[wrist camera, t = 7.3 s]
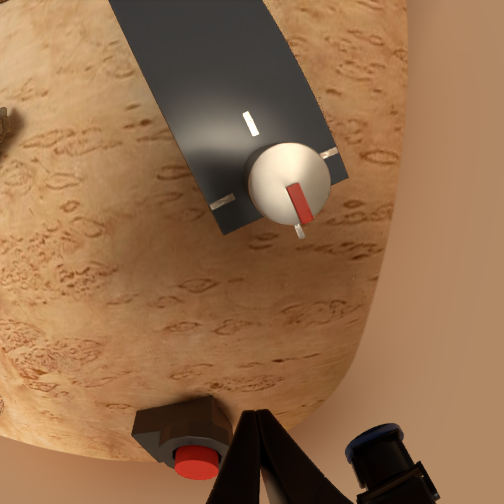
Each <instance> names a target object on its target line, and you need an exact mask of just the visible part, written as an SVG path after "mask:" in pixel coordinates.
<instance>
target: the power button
mask: <svg viewBox="0 0 504 504" xmlns="http://www.w3.org/2000/svg"><path fill="white" fill-rule="evenodd" d="M174 468H175V471H176V472H177V473H178V474H179V475H181V476H183V477H185V478H188V479H194V480H206V479H211V478H213V477H215V476H216V475H217V474H218V472H219V463H218V453H217V452H216V451H215V450H214V449H211V448H209V447H207V446H201V445H192V444H191V445H186V446H181V447H179V448H178V449H177V450H176V455H175V467H174Z"/></svg>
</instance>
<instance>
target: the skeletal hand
mask: <svg viewBox="0 0 504 504" xmlns="http://www.w3.org/2000/svg"><path fill="white" fill-rule="evenodd" d="M11 128H12V127H11V124H10V122H9V119H8V117H7V108H5V107H2V108H0V147H1V144H2V141H3V138H4V136H5V133H4V132H9V131H10V130H11Z"/></svg>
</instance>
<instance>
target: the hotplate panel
mask: <svg viewBox="0 0 504 504" xmlns="http://www.w3.org/2000/svg"><path fill="white" fill-rule="evenodd" d="M108 1H109V3H110V5H111V7H112V9H113V11H114V14H115V16H116V18H117V20H118V22H119V24H120V27H121V29H122V31H123V33H124V35H125V37H126V39H127V41H128V44H129V46H130V48H131V50H132V52H133V54H134V56H135V58H136V60H137V63H138V65H139V67H140V69H141V71H142V73H143V75H144V77H145V79H146V81H147V83H148V85H149V88H150V90H151V92H152V94H153V96H154V98H155V100H156V102H157V104H158V106H159V108H160V110H161V112H162V114H163V116H164V118H165V120H166V122H167V124H168V126H169V128H170V131H171V133H172V135H173V137H174V139H175V141H176V143H177V145H178V147H179V149H180V151H181V153H182V155H183V157H184V159H185V161H186V163H187V165H188V167H189V169H190V171H191V173H192V175H193V177H194V179H195V181H196V183H197V185H198V187H199V189H200V191H201V192H202V194H203V196H204V198H205V200H206V202H207V204H208V206H209V208H210V210H211V212H212V214H213V216H214V218H215V220H216V222H217V224H218V226H219V228H220V230H221V232H222V234H223V235H227V234H229V233H231V232H233V231H235V230H237V229H239V228H241V227H243V226H245V225H247V224H250V223H252V222H254V221H256V220H258V219H260V218H262V217H264V216H263V215H262V214H261V213H260V212H259V211H258V210H257V209H256V207H255V206H254V204H253V202H252V201H251V199H250V197H249V196H248V194H247V192H246V190H245V188H244V185H243V179H242V174H243V168H244V165H245V163H246V161H247V159H248V158H249V156H250V155H251V154H252V153H253V152H254V151H256V150H257V149H259V148H261V147H263V146H266V145H270V144H276V143H282V142H297V143H302V144H305V145H307V146H309V147H311V148H312V149H314V150H315V151H316V152H317V153H319V154H320V156H321V157H322V158H323V159H324V161H325V163H326V165H327V167H328V169H329V172H330V177H331V185H334V184H336V183H338V182H340V181H342V180H345V179H347V178H349V177H348V174H347V171H346V169H345V166H344V164H343V161H342V159H341V156H340V154H339V151H338V149H337V146H336V144H335V141H334V139H333V137H332V134H331V132H330V130H329V127H328V125H327V123H326V120H325V118H324V116H323V114H322V111H321V109H320V107H319V105H318V103H317V101H316V98H315V96H314V94H313V92H312V90H311V88H310V86H309V84H308V82H307V80H306V78H305V76H304V74H303V72H302V70H301V68H300V66H299V64H298V62H297V60H296V58H295V56H294V55H293V53H292V51H291V49H290V47H289V45H288V43H287V42H286V40H285V38H284V36H283V34H282V33H281V31H280V29H279V27H278V26H277V24H276V22H275V21H274V19H273V17H272V16H271V14H270V12H269V11H268V9H267V7H266V6H265V4H264V2H263V1H262V0H108ZM293 226H294V228H295V230H296V233H297V235H298V237H299V239H300V240H301V239H303V238H305V235H304V233H303V230H302V228H301V225H300V224H296V225H293Z"/></svg>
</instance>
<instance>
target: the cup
mask: <svg viewBox="0 0 504 504" xmlns="http://www.w3.org/2000/svg"><path fill="white" fill-rule="evenodd" d="M3 410H4V404H3V401H2V399H1V397H0V415H1V413H2V412H3Z"/></svg>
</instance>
